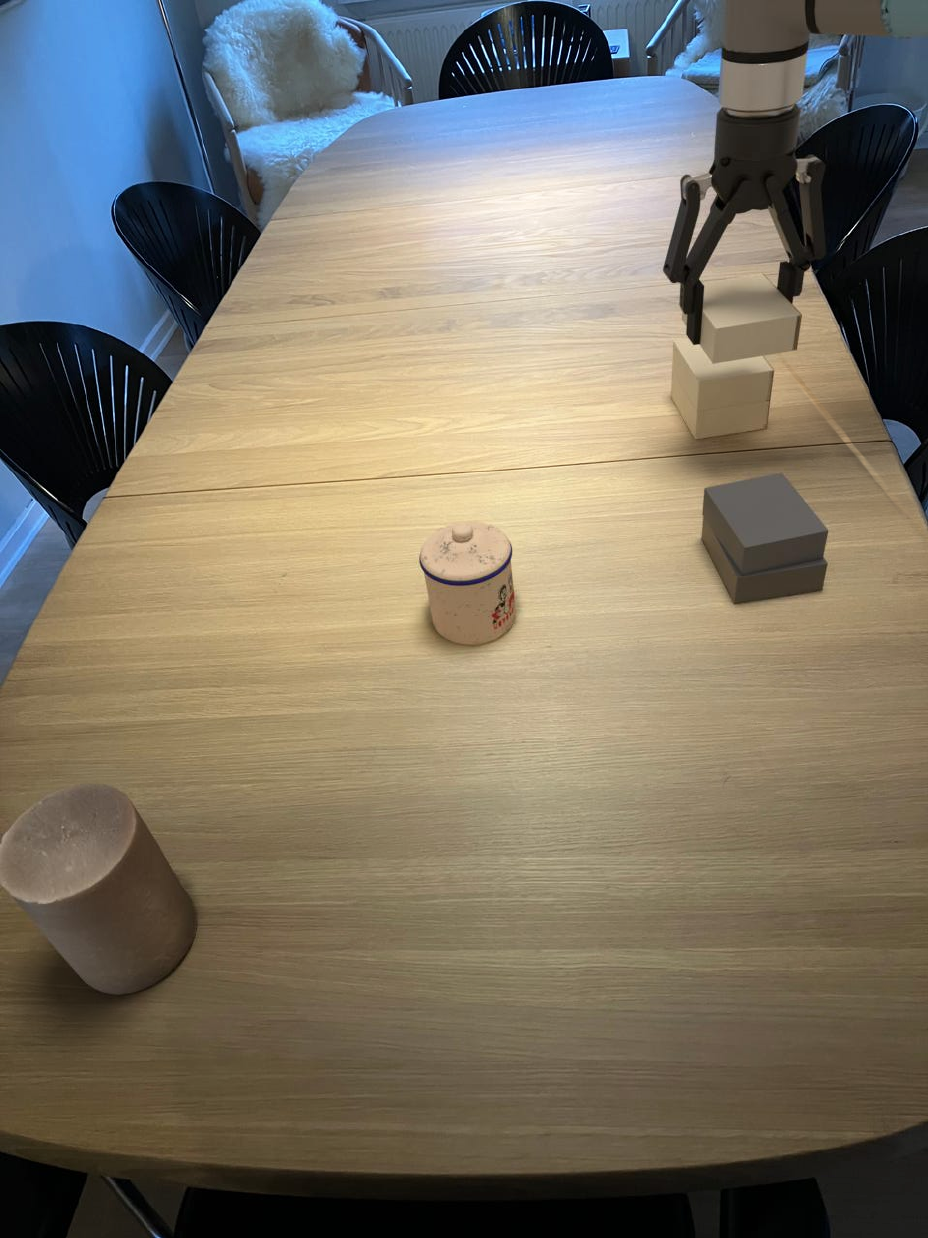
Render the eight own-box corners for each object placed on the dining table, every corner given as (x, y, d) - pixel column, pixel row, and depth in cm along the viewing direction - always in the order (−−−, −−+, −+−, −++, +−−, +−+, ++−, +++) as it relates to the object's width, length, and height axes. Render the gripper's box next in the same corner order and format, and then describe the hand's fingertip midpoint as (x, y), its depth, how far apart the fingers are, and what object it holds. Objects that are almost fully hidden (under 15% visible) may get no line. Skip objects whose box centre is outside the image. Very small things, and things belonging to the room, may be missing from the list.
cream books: (737, 385, 123) (743, 329, 117) (767, 428, 115) (774, 369, 109) (670, 396, 123) (673, 340, 117) (694, 439, 115) (698, 381, 109)
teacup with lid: (514, 649, 91) (504, 558, 83) (424, 647, 93) (406, 558, 85) (524, 570, 100) (516, 481, 92) (442, 570, 101) (427, 482, 94)
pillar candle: (200, 871, 76) (137, 758, 66) (193, 983, 69) (121, 875, 59) (83, 895, 76) (1, 784, 66) (64, 1010, 69) (-32, 905, 59)
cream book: (759, 307, 105) (763, 272, 103) (797, 350, 97) (802, 314, 95) (681, 319, 105) (683, 285, 103) (712, 363, 97) (715, 328, 94)
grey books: (781, 524, 101) (790, 470, 96) (822, 590, 92) (833, 535, 88) (698, 537, 101) (702, 484, 96) (731, 604, 92) (737, 550, 88)
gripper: (855, 77, 89) (820, 301, 104) (633, 113, 89) (630, 332, 104) (892, 97, 83) (849, 330, 99) (654, 134, 83) (648, 363, 98)
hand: (737, 331), depth 101 cm, fingers closed on cream book, 9 cm apart
